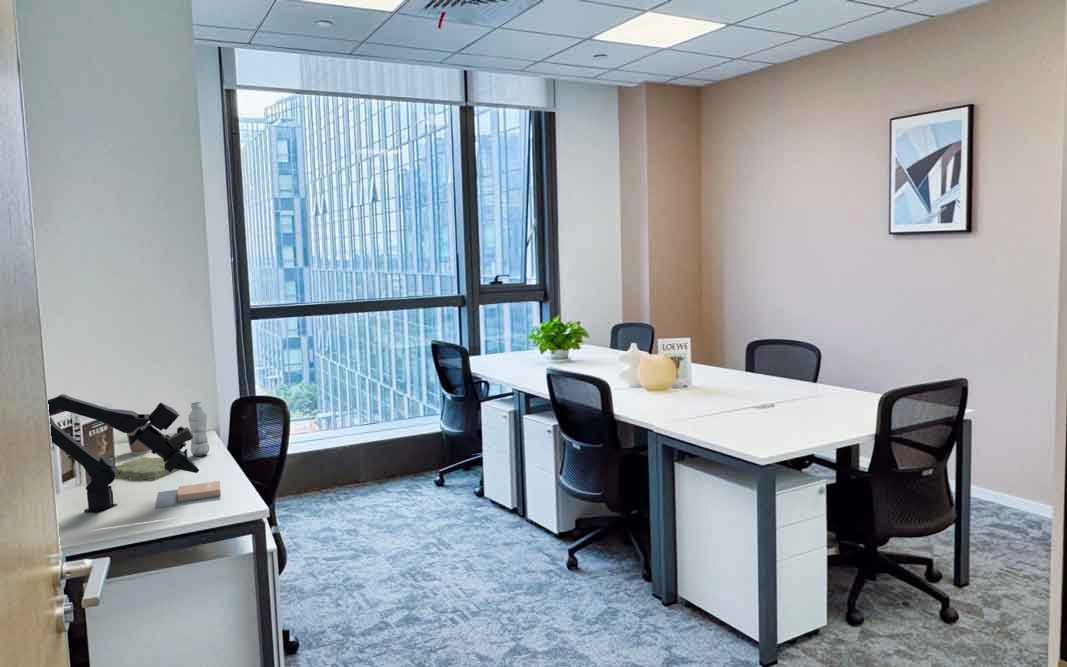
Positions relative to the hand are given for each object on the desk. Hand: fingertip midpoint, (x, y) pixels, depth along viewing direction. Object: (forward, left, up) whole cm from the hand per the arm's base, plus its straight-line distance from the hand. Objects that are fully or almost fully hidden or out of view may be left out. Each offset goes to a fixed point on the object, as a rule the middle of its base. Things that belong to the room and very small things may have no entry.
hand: (198, 471), depth 243 cm
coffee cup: (+47, +59, -8) cm, 76 cm away
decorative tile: (+22, +36, -8) cm, 44 cm away
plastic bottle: (+45, +31, -8) cm, 55 cm away
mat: (-2, +3, -8) cm, 8 cm away
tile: (-3, +5, -6) cm, 9 cm away
